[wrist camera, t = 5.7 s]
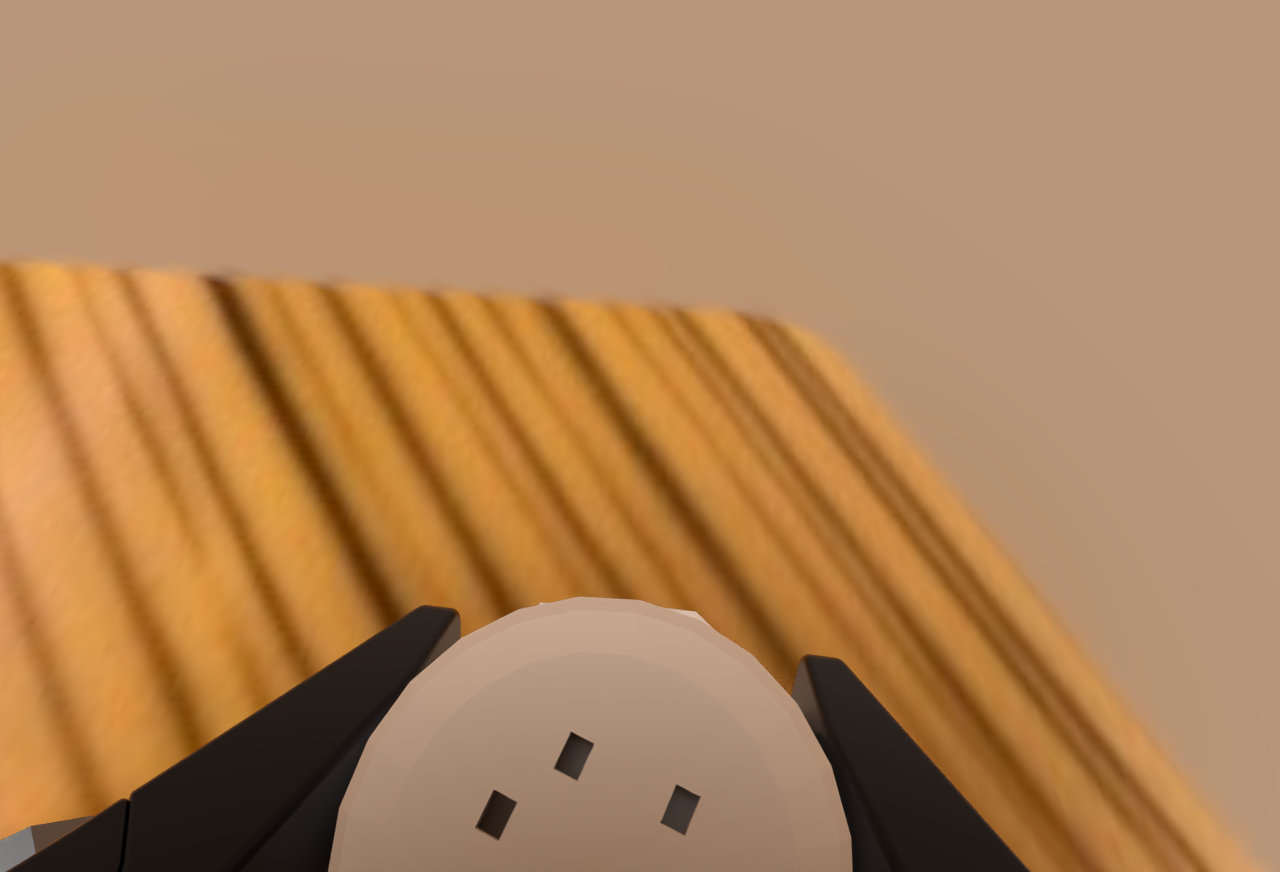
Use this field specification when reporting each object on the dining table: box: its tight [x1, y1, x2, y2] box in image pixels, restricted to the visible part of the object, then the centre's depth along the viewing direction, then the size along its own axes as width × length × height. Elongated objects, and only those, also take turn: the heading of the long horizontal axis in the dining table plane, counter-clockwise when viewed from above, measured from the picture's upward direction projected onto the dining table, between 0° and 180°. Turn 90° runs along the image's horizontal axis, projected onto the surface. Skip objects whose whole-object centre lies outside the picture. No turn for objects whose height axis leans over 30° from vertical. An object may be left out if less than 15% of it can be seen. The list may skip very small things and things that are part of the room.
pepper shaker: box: [328, 597, 853, 872], centre depth 9 cm, size 5×5×11 cm
